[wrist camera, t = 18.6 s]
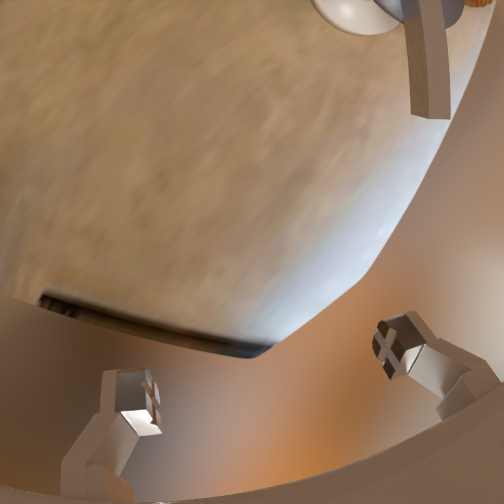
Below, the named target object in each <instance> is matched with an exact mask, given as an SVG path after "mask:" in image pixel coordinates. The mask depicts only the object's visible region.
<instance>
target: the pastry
mask: <svg viewBox="0 0 504 504" xmlns="http://www.w3.org/2000/svg"><path fill="white" fill-rule="evenodd" d="M491 2H492V0H465V1H464V4H465V5H468V6H469V7H484V6H486V5H487V4H491Z"/></svg>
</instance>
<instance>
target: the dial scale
mask: <svg viewBox="0 0 504 504" xmlns="http://www.w3.org/2000/svg"><path fill="white" fill-rule="evenodd" d="M464 1H465V0H441V4H442V10H443V16H444V23H445V29H447V28H449V27H451V26H452V25H454V24H455V23H456V22H457V21H458V19H459V18H460V16H461V14H462V11H463V8H464ZM311 3H312V4H313V6H314V8H315V9H316V11H317V12H318V13H319V14H320V15H321V17H322V18H323V19H325V20H326V21H327V22H328V23H329V24H331V25H332V26H334V27H335V28H337V29H339V30H341V31H343V32H345V33H348V34H352V35H358V36H368V35H374V34H380V33H384V32H387V31H390V30H392V29H393V28H394V27H396V26H397V25H398V24H399V22H401V23H403V24H404V21H403V14H402V8H401V2H400V0H311Z"/></svg>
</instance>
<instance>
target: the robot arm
mask: <svg viewBox="0 0 504 504" xmlns="http://www.w3.org/2000/svg"><path fill="white" fill-rule="evenodd" d="M377 329H378V330H379V331H378V332H377V333H376V334H375V335H374V337H373V340H372V348H373V351H374V354H375V356H376V357H377V359H379V360H381V361H383V367H382V368H383V369H384V371H385V372H386V374H387V376H388V378H389V379H390V380H393V379H396V378H398V377H401V376H404V375H406V374H408V375H409V376H410V377H412V378H413V379H415V380H416V381H417V382H419V383H420V384H422V385H423V386H425V387H426V388H428V389H429V390H431V391H432V392H434V393H435V394H436V395H438V396H439V397H441V398H442V399H443V400H442V401H441V402H440V403H439V405H438V406H437V408H436V411H437V413H438V414H439V416H440V418H441V419H442V422H440V423H438V424H436V425H434V426H432V427H431V428H429V429H427V430H425V431H423V432H421V433H419V434H417V435H415V436H413V437H411V438H409V439H407V440H405V441H403V442H401V443H399V444H396V445H395V446H392V447H390V448H388V449H385V450H383V451H381V452H378V453H376V454H373V455H371V456H369V457H366V458H363V459H361V460H358V461H356V462H353V463H350V464H347V465H345V466H342V467H339V468H336V469H333V470H330V471H327V472H324V473H321V474H317V475H314V476H311V477H308V478H304V479H300V480H297V481H293V482H289V483H285V484H281V485H277V486H273V487H268V488H264V489H259V490H254V491H249V492H243V493H238V494H232V495H226V496H218V497H211V498H203V499H193V500H181V501H166V502H135V499H134V491H133V487H132V486H131V485H130V484H128V483H127V482H125V481H124V480H122V479H121V478H119V476H120V474H121V471H122V470H123V467H124V465H125V464H126V462H127V460H128V458H129V456H130V454H131V452H132V450H133V448H134V446H135V444H136V442H137V440H138V438H139V436H143V435H153V434H162V426H161V416H160V414H159V413H158V411H157V410H158V408H159V406H160V398H159V392H158V388H157V385H156V383H155V381H154V380H153V379H151V372H150V371H149V369H148V367H147V368H135V369H122V370H109V371H104V374H103V376H102V388H101V401H100V413H96V414H95V415H94V417H93V418H92V419H91V421H90V422H89V424H88V425H87V427H86V428H85V429H84V431H83V432H82V433H81V435H80V436H79V438H78V439H77V441H76V442H75V443H74V445H73V446H72V447H71V449H70V450H69V452H68V453H67V455H66V456H65V457H64V459H63V460H62V465H61V497H55V496H48V495H43V494H37V493H32V492H26V491H21V490H17V489H13V488H9V487H4V486H1V485H0V504H504V382H502V383H501V382H500V380H499V379H498V377H497V376H496V375H495V373H494V372H493V370H492V369H491V368H490V366H489V365H488V364H487V362H486V361H485V360H484V359H482V358H480V357H478V356H476V355H474V354H472V353H469V352H467V351H465V350H463V349H461V348H459V347H457V346H455V345H453V344H451V343H449V342H447V341H445V340H443V339H441V338H439V339H437V338H436V336H435V335H434V334H433V333H432V331H431V330H430V329H429V327H428V326H427V325H426V323H425V322H424V321H423V320H422V318H421V317H420V316H419V315H418V313H417V312H415V311H414V310H413V311H409V312H406V313H404V314H399V315H396V316H393V317H389V318H386V319H383V320H381V321H380V322H379V323H378V325H377Z"/></svg>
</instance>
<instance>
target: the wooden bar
mask: <svg viewBox="0 0 504 504" xmlns="http://www.w3.org/2000/svg"><path fill="white" fill-rule="evenodd" d="M400 2H401V8H402V14H403V21H404V29H405V37H406V45H407V55H408V67H409V82H410V103H411V114H412V115H416V116H420V117H424V118H428V119H450V116H451V107H450V75H449V60H448V48H447V39H446V30H445V23H444V16H443V10H442V4H441V0H400Z"/></svg>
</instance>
